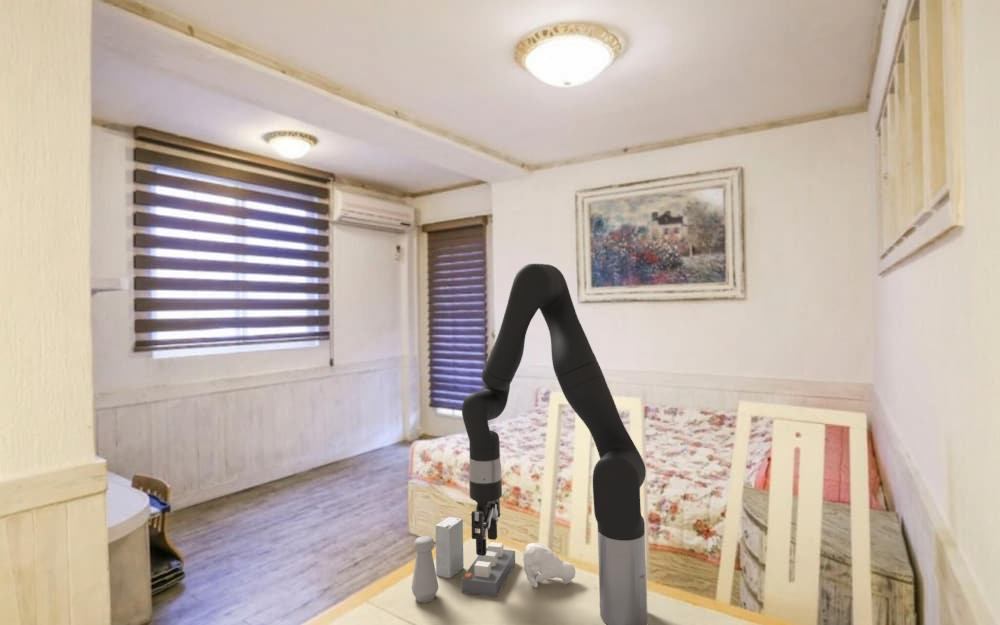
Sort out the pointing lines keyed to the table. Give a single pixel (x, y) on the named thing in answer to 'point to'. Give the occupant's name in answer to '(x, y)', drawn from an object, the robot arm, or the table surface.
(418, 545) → the salt shaker
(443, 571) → the skincare box
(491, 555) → the block
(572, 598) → the table surface
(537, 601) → the table surface
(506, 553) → the panel
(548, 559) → the whiskered white figurine
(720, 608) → the table surface
